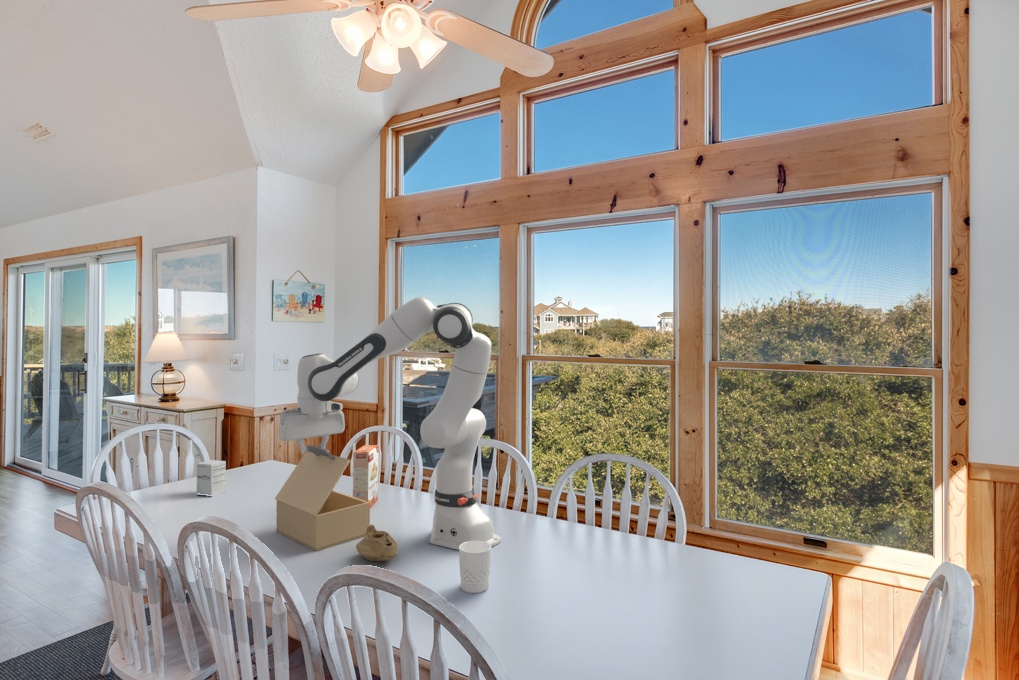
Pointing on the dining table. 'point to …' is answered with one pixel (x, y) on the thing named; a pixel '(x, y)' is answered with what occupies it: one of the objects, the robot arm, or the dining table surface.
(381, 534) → the oil lamp
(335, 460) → the carton lid
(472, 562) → the white cup
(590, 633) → the dining table surface
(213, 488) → the supplement box
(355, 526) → the carton
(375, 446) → the cracker box
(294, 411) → the robot arm
